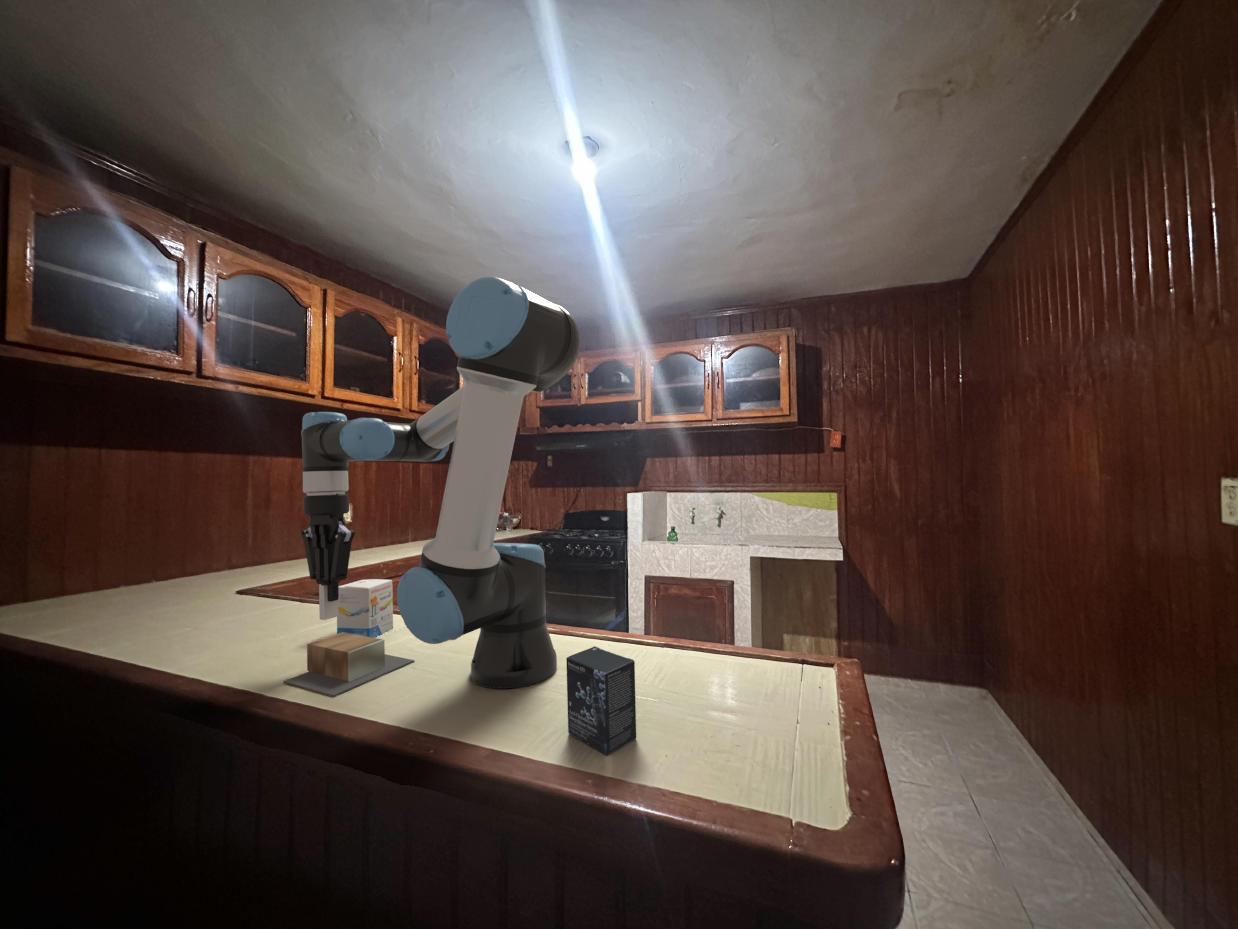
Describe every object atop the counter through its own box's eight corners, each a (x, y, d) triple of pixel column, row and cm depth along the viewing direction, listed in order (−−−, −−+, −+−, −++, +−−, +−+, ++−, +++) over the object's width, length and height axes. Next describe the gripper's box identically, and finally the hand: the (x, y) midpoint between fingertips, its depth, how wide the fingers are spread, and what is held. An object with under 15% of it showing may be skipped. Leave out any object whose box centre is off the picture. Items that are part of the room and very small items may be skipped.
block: (343, 657, 96) (384, 666, 91) (307, 671, 90) (349, 681, 84) (342, 632, 96) (384, 639, 91) (306, 643, 90) (349, 652, 85)
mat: (414, 661, 94) (414, 660, 94) (333, 697, 79) (333, 695, 79) (366, 651, 100) (366, 650, 100) (283, 682, 85) (283, 681, 85)
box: (567, 735, 66) (565, 656, 66) (597, 719, 70) (595, 645, 70) (607, 758, 60) (604, 672, 60) (638, 739, 64) (635, 658, 64)
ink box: (369, 640, 107) (368, 587, 107) (335, 639, 108) (335, 586, 109) (394, 628, 115) (393, 578, 115) (363, 627, 117) (362, 578, 117)
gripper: (367, 492, 93) (369, 615, 93) (324, 493, 99) (327, 609, 99) (328, 494, 87) (331, 627, 86) (285, 495, 93) (288, 619, 92)
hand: (329, 617), depth 92 cm, fingers closed
